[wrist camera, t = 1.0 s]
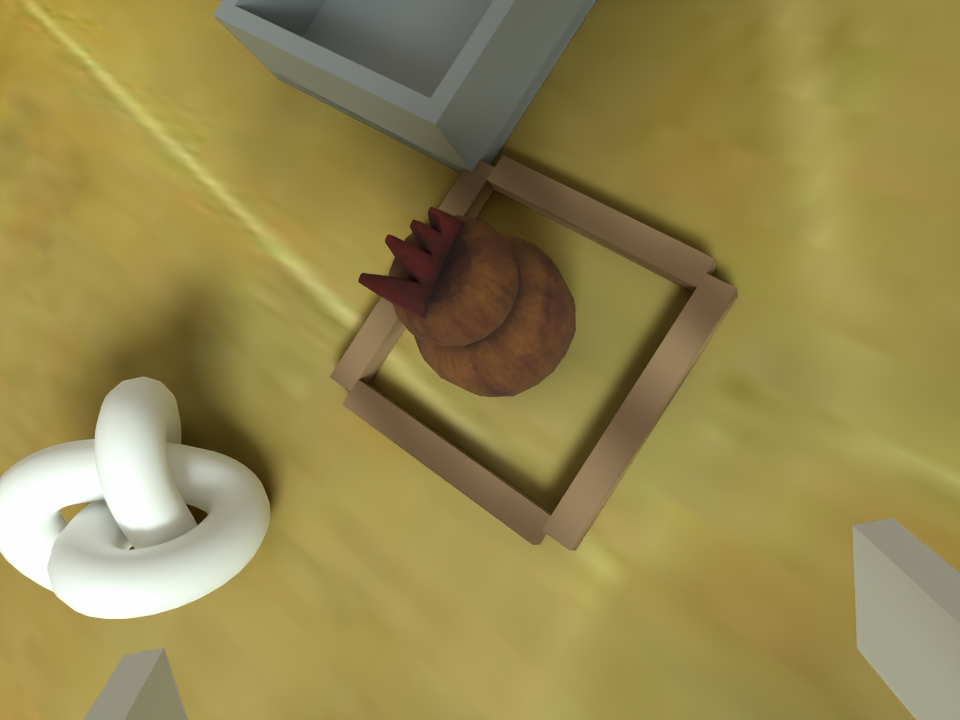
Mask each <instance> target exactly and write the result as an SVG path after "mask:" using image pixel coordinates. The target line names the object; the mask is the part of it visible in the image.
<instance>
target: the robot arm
mask: <svg viewBox="0 0 960 720" xmlns="http://www.w3.org/2000/svg"><path fill="white" fill-rule="evenodd" d="M852 526H853V552H854V578H855V603H856V629H857V649H858V650H859V652H860V653H861V654H862V655H863V656H864V658H865V659H866V660H867V661H868V662H869V664H870V665H871V666H872V667H873V668H874V670H875V671H876V672H877V673H878V674H879V676H880V677H881V678H882V679H883V681H884V682H885V683H886V684H887V685H888V687H889V688H890V689H891V690H892V691H893V693H894V694H895V695H896V696H897V697H898V699H899V700H900V701H901V702H902V704H903V705H904V706H905V707H906V708H907V710H908V711H909V712H910V713H911V714H912V716H913V717H914V718H915V719H916V720H960V573H959V572H958V571H956V570H955V569H954V568H953V567H952V566H950V565H949V564H948V563H947V562H946V561H944V560H943V559H942V558H941V557H939V556H938V555H937V554H936V553H935V552H933V551H932V550H931V549H930V548H929V547H927V546H926V545H925V544H924V543H922V542H921V541H920V540H919V539H918V538H916V537H915V536H914V535H913V534H912V533H910V532H909V531H908V530H907V529H905V528H904V527H903V526H902V525H901V524H899V523H898V522H897V521H896V520H895V519H893V518H889V519H884V520H878V521H873V522H867V523H861V524H856V525H852ZM84 720H188V718H187V715H186V712H185V709H184V706H183V703H182V700H181V697H180V694H179V691H178V688H177V685H176V682H175V679H174V676H173V673H172V670H171V667H170V664H169V661H168V658H167V655H166V652H165V649H164V648H161V649H155V650H150V651H144V652H139V653H133V654H127V655H124V656H123V657H122V659H121V661H120V662H119V664H118V665H117V667H116V669H115V670H114V672H113V673H112V675H111V677H110V678H109V680H108V681H107V683H106V685H105V686H104V688H103V689H102V691H101V693H100V694H99V696H98V697H97V699H96V701H95V702H94V704H93V705H92V707H91V709H90V710H89V712H88V713H87V715H86V717H85V718H84Z"/></svg>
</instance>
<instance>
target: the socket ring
mask: <svg viewBox="0 0 960 720" xmlns="http://www.w3.org/2000/svg"><path fill="white" fill-rule="evenodd" d="M494 190H495V191H497V192H499V193H501V194H503V195H505V196H507V197H509V198H511V199H513V200H515V201H517V202H518V203H520V204H522V205H524V206H526V207H528V208H530V209H532V210H534V211H536V212H538V213H540V214H542V215H544V216H546V217H548V218H550V219H551V220H553V221H555V222H557V223H559V224H561V225H563V226H565V227H567V228H569V229H571V230H573V231H575V232H577V233H579V234H581V235H583V236H584V237H586V238H588V239H590V240H592V241H594V242H596V243H598V244H600V245H602V246H604V247H606V248H608V249H610V250H612V251H614V252H616V253H617V254H619V255H621V256H623V257H625V258H627V259H629V260H631V261H633V262H635V263H637V264H639V265H641V266H643V267H645V268H647V269H649V270H650V271H652V272H654V273H656V274H658V275H660V276H662V277H664V278H666V279H668V280H670V281H672V282H674V283H676V284H678V285H680V286H681V287H683V288H685V289H687V290H689V291H691V292H693V294H692V296H691V298H690V299H689V301H688V302H687V304H686V305H685V307H684V308H683V310H682V312H681V313H680V315H679V316H678V318H677V319H676V321H675V323H674V324H673V326H672V327H671V329H670V330H669V332H668V333H667V335H666V337H665V338H664V340H663V341H662V343H661V344H660V346H659V348H658V349H657V351H656V352H655V354H654V355H653V357H652V359H651V360H650V362H649V363H648V365H647V366H646V368H645V369H644V371H643V373H642V374H641V376H640V377H639V379H638V380H637V382H636V384H635V385H634V387H633V388H632V390H631V391H630V393H629V394H628V396H627V398H626V399H625V401H624V402H623V404H622V405H621V407H620V409H619V410H618V412H617V413H616V415H615V416H614V418H613V419H612V421H611V423H610V424H609V426H608V427H607V429H606V430H605V432H604V434H603V435H602V437H601V438H600V440H599V441H598V443H597V445H596V446H595V448H594V449H593V451H592V452H591V454H590V455H589V457H588V459H587V460H586V462H585V463H584V465H583V466H582V468H581V470H580V471H579V473H578V474H577V476H576V477H575V479H574V480H573V482H572V484H571V485H570V487H569V488H568V490H567V491H566V493H565V495H564V496H563V498H562V499H561V501H560V502H559V504H558V505H557V507H556V509H555V510H554V512H553V513H551V512H550V511H548V510H547V509H546V508H544V507H543V506H541V505H540V504H539V503H537V502H536V501H534V500H533V499H531V498H530V497H529V496H527V495H526V494H524V493H523V492H522V491H520V490H519V489H517V488H516V487H515V486H513V485H512V484H510V483H509V482H507V481H506V480H505V479H503V478H502V477H500V476H499V475H498V474H496V473H495V472H493V471H492V470H490V469H489V468H488V467H486V466H485V465H483V464H482V463H481V462H479V461H478V460H476V459H475V458H473V457H472V456H471V455H469V454H468V453H466V452H465V451H464V450H462V449H461V448H459V447H458V446H456V445H455V444H454V443H452V442H451V441H449V440H448V439H447V438H445V437H444V436H442V435H441V434H439V433H438V432H437V431H435V430H434V429H432V428H431V427H430V426H428V425H427V424H425V423H424V422H423V421H421V420H420V419H418V418H417V417H415V416H414V415H413V414H411V413H410V412H408V411H407V410H406V409H404V408H403V407H401V406H400V405H398V404H397V403H396V402H394V401H393V400H391V399H390V398H389V397H387V396H386V395H384V394H383V393H381V392H380V391H379V390H377V389H376V388H374V387H373V386H372V385H370V382H371V381H372V379H373V378H374V376H375V375H376V373H377V371H378V370H379V368H380V367H381V365H382V364H383V362H384V361H385V359H386V357H387V356H388V354H389V353H390V351H391V350H392V348H393V347H394V345H395V343H396V342H397V340H398V339H399V337H400V336H401V334H402V333H403V331H404V329H405V328H406V327H405V326H404V325H403V323H402V322H401V321H400V320H399V319H398V318H397V316H396V313H395V310H394V307H393V304H392V303H391V302H389V301H387V300H386V299H384V298H383V297H381V298H380V300H379V301H378V303H377V304H376V306H375V307H374V309H373V311H372V312H371V314H370V315H369V317H368V318H367V320H366V321H365V323H364V325H363V326H362V328H361V329H360V331H359V332H358V334H357V335H356V337H355V338H354V340H353V342H352V343H351V345H350V346H349V348H348V349H347V351H346V352H345V354H344V356H343V357H342V359H341V360H340V362H339V363H338V365H337V366H336V368H335V370H334V371H333V373H332V374H331V376H330V378H332V379H333V380H335V381H336V382H337V383H339V384H340V385H341V386H343V387H344V388H346V389H347V390H348V391H350V393H349V395H348V396H347V398H346V399H345V401H344V402H343V404H342V405H344V406H345V407H346V408H348V409H349V410H351V411H352V412H353V413H355V414H356V415H357V416H359V417H360V418H361V419H363V420H364V421H365V422H367V423H368V424H370V425H371V426H372V427H374V428H375V429H376V430H378V431H379V432H380V433H382V434H383V435H384V436H386V437H387V438H389V439H390V440H391V441H393V442H394V443H395V444H397V445H398V446H399V447H401V448H402V449H403V450H405V451H406V452H408V453H409V454H410V455H412V456H413V457H414V458H416V459H417V460H418V461H420V462H421V463H422V464H424V465H425V466H427V467H428V468H429V469H431V470H432V471H433V472H435V473H436V474H437V475H439V476H440V477H442V478H443V479H444V480H446V481H447V482H448V483H450V484H451V485H452V486H454V487H455V488H456V489H458V490H459V491H461V492H462V493H463V494H465V495H466V496H467V497H469V498H470V499H471V500H473V501H474V502H475V503H477V504H478V505H480V506H481V507H482V508H484V509H485V510H486V511H488V512H489V513H490V514H492V515H493V516H494V517H496V518H497V519H499V520H500V521H501V522H503V523H504V524H505V525H507V526H508V527H509V528H511V529H512V530H513V531H515V532H516V533H518V534H519V535H520V536H522V537H523V538H524V539H526V540H527V541H528V542H530V543H531V544H532V545H540V543H541V542H542V540H543V539H544V537H545V535H546V534H548V535H549V536H550V537H552V538H553V539H555V540H556V541H557V542H559V543H560V544H561V545H563V546H564V547H566V548H567V549H568V550H576V549H577V547H578V546H579V544H580V543H581V541H582V539H583V538H584V536H585V535H586V533H587V532H588V530H589V528H590V527H591V525H592V524H593V522H594V521H595V519H596V517H597V516H598V514H599V513H600V511H601V510H602V508H603V507H604V505H605V503H606V502H607V500H608V499H609V497H610V496H611V494H612V492H613V491H614V489H615V488H616V486H617V485H618V483H619V481H620V480H621V478H622V477H623V475H624V474H625V472H626V471H627V469H628V467H629V466H630V464H631V463H632V461H633V460H634V458H635V456H636V455H637V453H638V452H639V450H640V449H641V447H642V445H643V444H644V442H645V441H646V439H647V438H648V436H649V435H650V433H651V431H652V430H653V428H654V427H655V425H656V424H657V422H658V420H659V419H660V417H661V416H662V414H663V413H664V411H665V409H666V408H667V406H668V405H669V403H670V402H671V400H672V399H673V397H674V395H675V394H676V392H677V391H678V389H679V388H680V386H681V384H682V383H683V381H684V380H685V378H686V377H687V375H688V374H689V372H690V370H691V369H692V367H693V366H694V364H695V363H696V361H697V359H698V358H699V356H700V355H701V353H702V352H703V350H704V348H705V347H706V345H707V344H708V342H709V341H710V339H711V338H712V336H713V334H714V333H715V331H716V330H717V328H718V327H719V325H720V323H721V322H722V320H723V319H724V317H725V316H726V314H727V312H728V311H729V309H730V308H731V306H732V305H733V303H734V302H735V300H736V298H737V297H738V296H737V288H735V287H733V286H731V285H729V284H727V283H725V282H723V281H721V280H719V279H717V278H715V277H713V276H712V274H713V273H714V271H715V270H716V268H717V267H716V261H715V258H712V257H710V256H708V255H706V254H704V253H702V252H700V251H698V250H696V249H694V248H692V247H690V246H688V245H686V244H684V243H682V242H680V241H678V240H676V239H674V238H672V237H670V236H667V235H665V234H663V233H661V232H659V231H657V230H655V229H653V228H651V227H649V226H647V225H645V224H643V223H641V222H639V221H637V220H635V219H633V218H631V217H629V216H627V215H625V214H622V213H620V212H618V211H616V210H614V209H612V208H610V207H608V206H606V205H604V204H602V203H600V202H598V201H596V200H594V199H592V198H590V197H588V196H586V195H584V194H582V193H579V192H577V191H575V190H573V189H571V188H569V187H567V186H565V185H563V184H561V183H559V182H557V181H555V180H553V179H551V178H549V177H547V176H545V175H543V174H541V173H539V172H537V171H534V170H532V169H530V168H528V167H526V166H524V165H522V164H520V163H518V162H516V161H514V160H512V159H510V158H508V157H506V156H504V155H502V157H501V158H500V160H499V161H498V163H497V165H496V166H495V167H493V166H491V165H489V164H487V163H485V162H483V161H481V160H479V161H478V163H477V164H476V166H475V167H474V169H473V171H472V172H470V171H468V170H466V169H465V168H464V169H463V171H462V172H461V174H460V175H459V177H458V178H457V180H456V182H455V183H454V185H453V186H452V188H451V189H450V191H449V192H448V194H447V196H446V197H445V199H444V200H443V202H442V203H441V205H440V206H439V208H438V209H439V210H442V211H444V212H447V213H449V214H451V215H453V216H455V215H460V216H466V217H470V218H473V219H476V218H477V216H478V214H479V213H480V211H481V210H482V208H483V207H484V205H485V204H486V202H487V200H488V199H489V197H490V196H491V194H492V193H493V191H494Z"/></svg>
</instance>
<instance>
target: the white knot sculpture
mask: <svg viewBox="0 0 960 720" xmlns="http://www.w3.org/2000/svg"><path fill="white" fill-rule="evenodd" d="M85 502H91V503H89V504H88V505H87V506H86V507H85V508H84V509H82V510H81V511H80V512H79V513H78V514H77V515H76V516H75V517H74V518H73V519H72V520H71V522H70V523H68V522H67V521H66V520H65V519H64V517H63V516H62V514H61V513H60V509H61V508H63V507H65V506H68V505H73V504H78V503H85ZM186 504H188V505H191V506H194V507H197V508H199V509H201V510H203V511H205V512H207V513H208V515H207V517H206V518H205V519H204V520H203V521H202V522H201V523H200V524H199V525H197V523H196V521H195V519H194V518H193V516H192V514H191V512H190V511H189V509H188V507H187V505H186ZM270 518H271V516H270V503H269V500H268V497H267V494H266V492H265V489H264V487H263V485H262V483H261V481H260V480H259V479H258V477H257V476H256V475H255V474H254V473H253V472H252V471H251V470H250V469H249V468H247V467H246V466H245V465H243V464H242V463H240V462H238V461H237V460H235V459H233V458H231V457H228V456H226V455H223V454H221V453H218V452H214V451H210V450H206V449H201V448H196V447H192V446H187V445H182V444H181V422H180V416H179V411H178V406H177V402H176V399H175V397H174V395H173V393H172V392H171V391H170V390H169V389H168V388H167V387H166V386H165V385H164V384H163V383H162V382H160V381H158V380H154V379H151V378H148V377H139V378H134V379H129V380H124V381H122V382H121V383H120V384H118V385H117V386H116V387H115V388H114V389H113V390H111V391H110V392H109V393H108V394H107V396H106V397H105V399H104V401H103V404H102V406H101V410H100V413H99V417H98V421H97V425H96V430H95V439H89V440H79V441H72V442H67V443H62V444H58V445H54V446H51V447H48V448H45V449H42V450H40V451H37V452H35V453H33V454H31V455H29V456H27V457H25V458H24V459H22V460H20V461H19V462H17V463H15V464H14V465H13V466H12V467H11V468H10V469H8V470H7V471H6V472H5V473H4V474H3V475H2V476H1V478H0V552H1V554H2V555H3V556H4V558H5V559H6V560H7V561H8V562H9V563H10V564H12V565H13V566H14V567H15V568H16V569H17V570H18V571H19V572H21V573H22V574H23V575H25V576H27V577H28V578H30V579H31V580H33V581H35V582H36V583H38V584H39V585H41V586H43V587H45V588H46V589H49V590H51V591H53V592H54V593H55V594H56V596H57V597H58V598H60V599H61V600H62V601H63V602H64V603H66V604H67V605H68V606H69V607H71V608H72V609H73V610H75V611H76V612H79V613H82V614H84V615H87V616H91V617H98V618H104V619H128V618H135V617H141V616H148V615H153V614H157V613H160V612H164V611H167V610H171V609H174V608H178V607H180V606H182V605H185V604H187V603H190V602H192V601H194V600H197V599H199V598H201V597H203V596H205V595H206V594H208V593H210V592H212V591H213V590H215V589H217V588H219V587H220V586H222V585H223V584H225V583H226V582H227V581H229V580H230V579H231V578H232V577H234V576H235V575H236V574H237V573H239V572H240V571H241V570H242V569H243V568H244V567H245V566H246V564H247V563H248V562H249V561H250V560H251V559H252V558H253V557H254V555H255V553H256V552H257V550H258V548H259V546H260V545H261V543H262V541H263V539H264V537H265V535H266V532H267V529H268V525H269V521H270ZM132 546H133V547H134V548H135V549H133V550H129V549H130V548H131V547H132Z"/></svg>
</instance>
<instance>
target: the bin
mask: <svg viewBox="0 0 960 720" xmlns="http://www.w3.org/2000/svg"><path fill="white" fill-rule="evenodd" d="M595 2H596V0H222V1H221V3H220V5H219V6H218V8H217V9H216V11H215V12H214V14H213V16H214V17H215V18H216V19H217V20H218V21H219V22H220V23H221V24H222V25H223V26H224V27H225V28H226V29H227V30H228V31H229V32H230V33H231V34H232V35H233V36H234V37H235V38H236V39H237V40H238V41H239V42H240V43H241V44H243V45H244V46H245V47H246V48H247V49H248V50H249V51H250V52H251V53H252V54H253V55H254V56H255V57H256V58H257V59H258V60H259V61H260V62H261V63H262V64H263V65H264V66H265V67H266V68H267V69H268V70H269V71H270V72H271V73H272V74H273V75H274V76H275V77H276V78H278V79H280V80H282V81H284V82H286V83H288V84H289V85H291V86H293V87H295V88H297V89H299V90H301V91H303V92H305V93H307V94H309V95H311V96H313V97H315V98H317V99H319V100H321V101H322V102H324V103H326V104H328V105H330V106H332V107H334V108H336V109H338V110H340V111H342V112H344V113H346V114H348V115H350V116H352V117H354V118H355V119H357V120H359V121H361V122H363V123H365V124H367V125H369V126H371V127H373V128H375V129H377V130H379V131H381V132H383V133H385V134H387V135H388V136H390V137H392V138H394V139H396V140H398V141H400V142H402V143H404V144H406V145H408V146H410V147H412V148H414V149H416V150H418V151H420V152H421V153H423V154H425V155H427V156H429V157H431V158H433V159H435V160H437V161H439V162H441V163H443V164H445V165H447V166H449V167H451V168H452V169H454V170H456V171H458V172H460V173H461V172H462V171H463V169H464V168H465V169H466V170H468V171H470V172H472V171H473V169H474V167H475V166H476V164H477V163H478V161H479V160H481V161H483V162H485V163H487V164H489V165H491V164H492V162H493V160H494V159H495V157H496V156H497V154H498V153H499V151H500V150H501V148H502V146H503V145H504V143H505V142H506V140H507V139H508V137H509V136H510V134H511V132H512V131H513V129H514V128H515V126H516V125H517V123H518V122H519V120H520V118H521V117H522V115H523V114H524V112H525V111H526V109H527V108H528V106H529V104H530V103H531V101H532V100H533V98H534V97H535V95H536V94H537V92H538V90H539V89H540V87H541V86H542V84H543V83H544V81H545V80H546V78H547V76H548V75H549V73H550V72H551V70H552V69H553V67H554V66H555V64H556V62H557V61H558V59H559V58H560V56H561V55H562V53H563V52H564V50H565V48H566V47H567V45H568V44H569V42H570V41H571V39H572V38H573V36H574V34H575V33H576V31H577V30H578V28H579V27H580V25H581V24H582V22H583V20H584V19H585V17H586V16H587V14H588V13H589V11H590V10H591V8H592V6H593V5H594V3H595Z"/></svg>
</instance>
